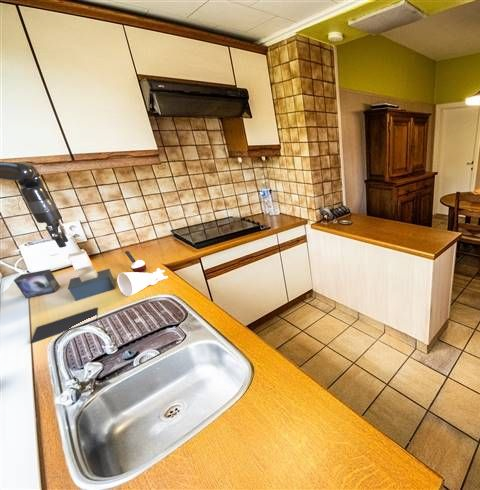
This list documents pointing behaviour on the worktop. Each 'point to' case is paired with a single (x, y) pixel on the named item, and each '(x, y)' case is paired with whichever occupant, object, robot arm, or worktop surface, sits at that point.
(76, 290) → the storage box
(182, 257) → the worktop surface
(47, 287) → the small box
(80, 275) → the cream box
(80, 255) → the white box
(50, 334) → the rubber mat
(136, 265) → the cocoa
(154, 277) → the rocket engine
